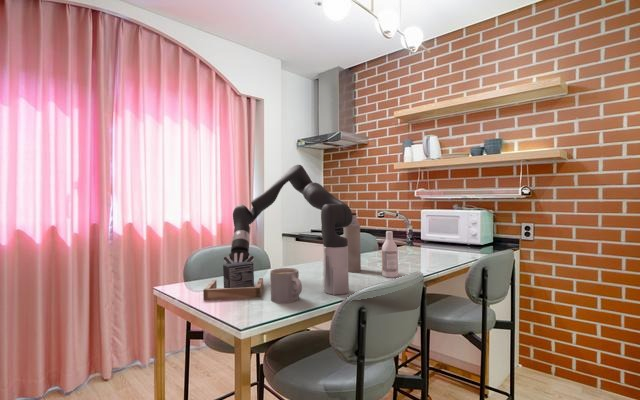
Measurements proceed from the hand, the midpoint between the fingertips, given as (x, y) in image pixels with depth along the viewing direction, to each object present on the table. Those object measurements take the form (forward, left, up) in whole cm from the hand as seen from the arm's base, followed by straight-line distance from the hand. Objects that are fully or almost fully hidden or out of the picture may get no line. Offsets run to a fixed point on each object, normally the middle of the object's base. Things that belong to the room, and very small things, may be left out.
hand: (237, 277), depth 142 cm
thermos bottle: (+10, -56, -4) cm, 57 cm away
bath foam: (-8, -66, -4) cm, 67 cm away
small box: (-4, 0, -4) cm, 6 cm away
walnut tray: (-7, +2, -4) cm, 8 cm away
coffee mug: (-25, -14, -4) cm, 29 cm away
